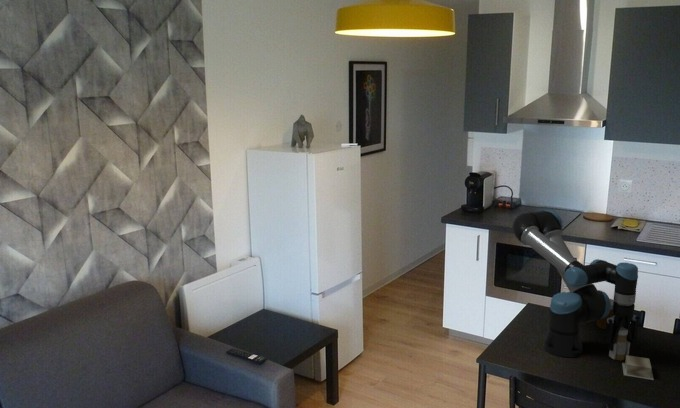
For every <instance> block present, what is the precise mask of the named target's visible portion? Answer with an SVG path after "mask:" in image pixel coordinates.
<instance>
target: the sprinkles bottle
mask: <svg viewBox="0 0 680 408" xmlns="http://www.w3.org/2000/svg"><path fill="white" fill-rule="evenodd" d="M627 334H628V330H627V329H626V328H624V326H622V327H621V328H620V330H619V333H618V335H617V338H616V341H615V343H616V344H617V346H616V356H615V359H614V360H616V361H624V360H625V359H626V357H625V351H626V339H627Z"/></svg>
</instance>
